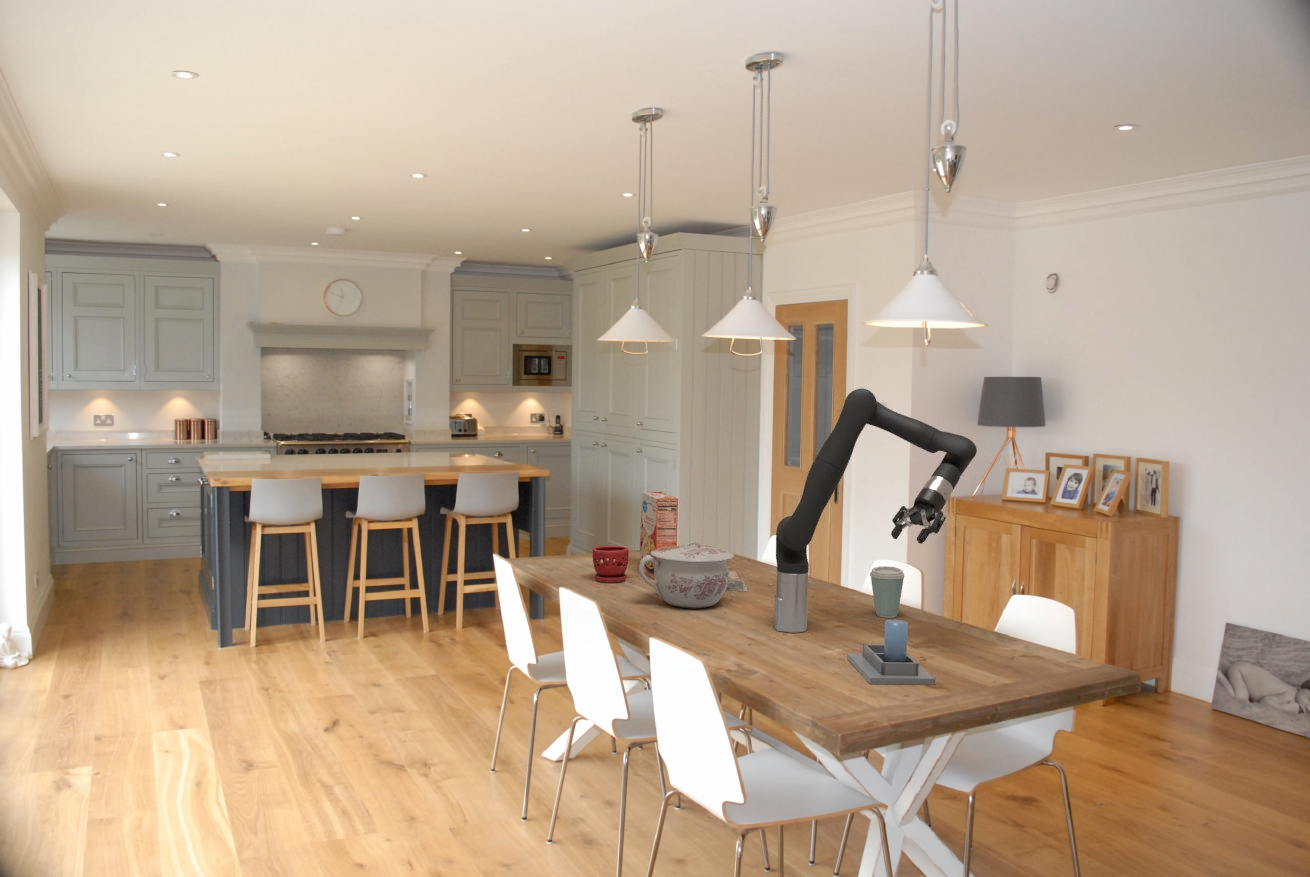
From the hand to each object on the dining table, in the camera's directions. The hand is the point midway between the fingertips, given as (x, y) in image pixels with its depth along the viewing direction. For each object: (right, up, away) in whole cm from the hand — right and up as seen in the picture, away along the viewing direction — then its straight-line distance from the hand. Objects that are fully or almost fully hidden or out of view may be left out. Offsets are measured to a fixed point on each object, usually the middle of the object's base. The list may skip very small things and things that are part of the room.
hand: (906, 539), depth 264 cm
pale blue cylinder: (-9, -30, -24) cm, 39 cm away
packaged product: (-41, -26, +82) cm, 96 cm away
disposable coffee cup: (+4, -29, +42) cm, 51 cm away
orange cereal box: (-68, -24, +102) cm, 125 cm away
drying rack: (-9, -31, -20) cm, 38 cm away
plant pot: (-85, -24, +87) cm, 124 cm away
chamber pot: (-57, -27, +52) cm, 82 cm away
